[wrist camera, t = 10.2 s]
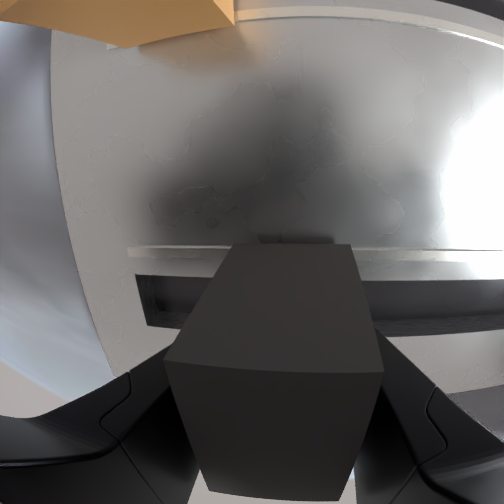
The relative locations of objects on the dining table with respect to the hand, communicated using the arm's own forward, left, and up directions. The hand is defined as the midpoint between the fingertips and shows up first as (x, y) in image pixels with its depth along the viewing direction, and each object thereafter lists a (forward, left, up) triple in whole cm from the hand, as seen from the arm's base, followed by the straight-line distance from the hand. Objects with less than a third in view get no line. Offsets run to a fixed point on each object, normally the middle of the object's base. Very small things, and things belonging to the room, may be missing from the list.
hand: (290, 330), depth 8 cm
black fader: (0, 0, -2) cm, 2 cm away
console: (-3, -5, -3) cm, 6 cm away
